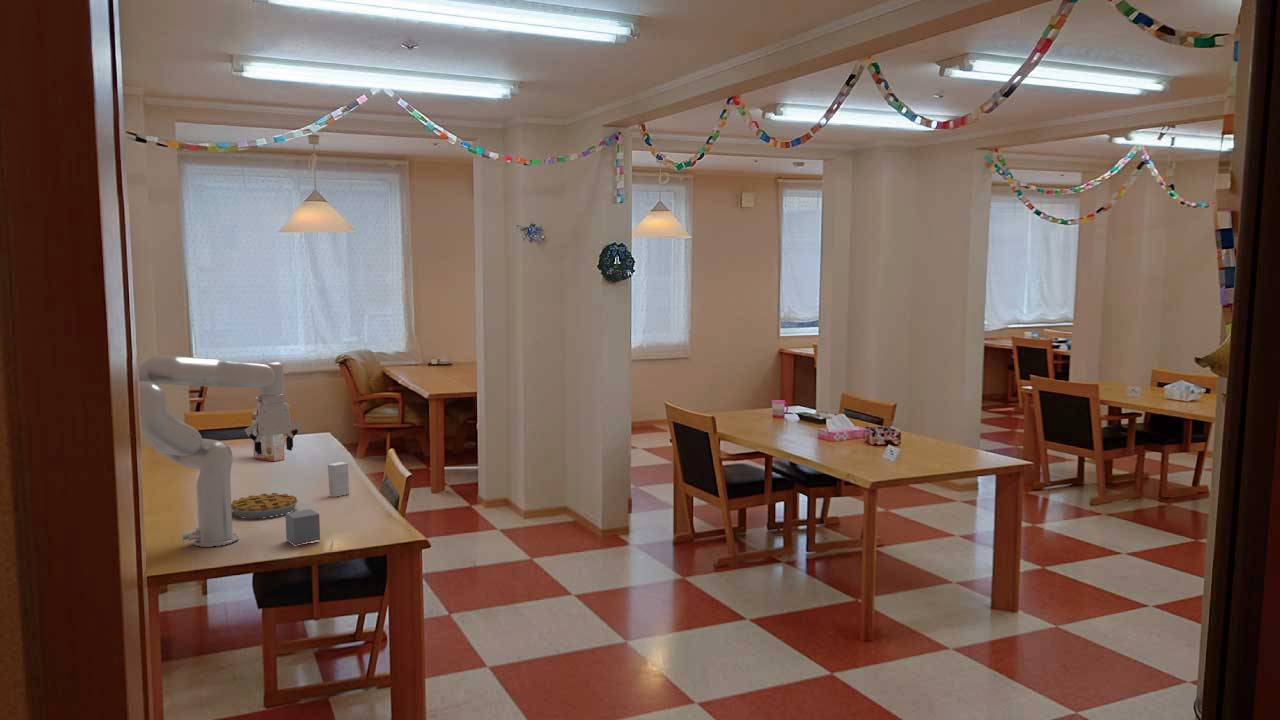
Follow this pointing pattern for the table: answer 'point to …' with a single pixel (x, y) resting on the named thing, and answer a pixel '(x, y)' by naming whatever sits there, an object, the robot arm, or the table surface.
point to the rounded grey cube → (302, 526)
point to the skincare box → (338, 479)
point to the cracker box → (269, 445)
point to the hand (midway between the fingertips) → (274, 451)
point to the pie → (264, 505)
